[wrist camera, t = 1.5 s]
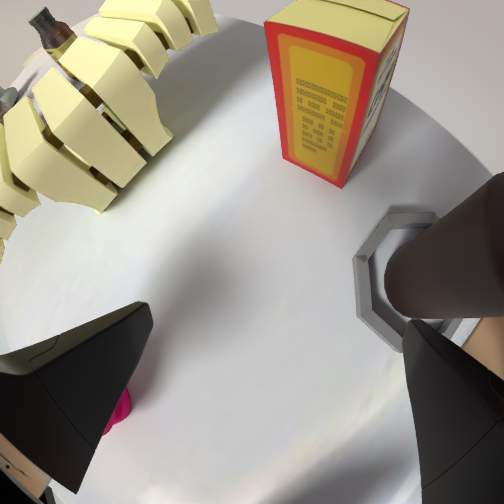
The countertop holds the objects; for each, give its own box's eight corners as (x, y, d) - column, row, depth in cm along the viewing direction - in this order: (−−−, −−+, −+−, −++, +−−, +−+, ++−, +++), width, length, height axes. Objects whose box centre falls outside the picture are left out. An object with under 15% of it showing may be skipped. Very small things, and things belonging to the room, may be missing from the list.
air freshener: (23, 89, 46) (5, 72, 37) (18, 103, 44) (-2, 85, 34) (2, 112, 47) (-16, 98, 37) (-3, 127, 44) (-23, 112, 35)
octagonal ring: (467, 335, 19) (475, 335, 18) (357, 356, 21) (361, 359, 20) (453, 216, 22) (460, 211, 21) (347, 221, 24) (350, 215, 22)
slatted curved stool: (66, 279, 27) (-58, 245, 10) (34, 205, 31) (-49, 160, 14) (239, 98, 29) (198, -31, 12) (169, 64, 33) (122, -22, 16)
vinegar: (453, 295, 20) (628, 246, 1) (401, 332, 21) (602, 347, 1) (424, 233, 22) (570, 105, 3) (369, 265, 23) (534, 127, 3)
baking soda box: (341, 188, 24) (379, 50, 9) (282, 158, 26) (262, 17, 11) (376, 125, 25) (410, 5, 10) (324, 101, 27) (328, -21, 12)
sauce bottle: (74, 74, 39) (27, 20, 20) (97, 57, 39) (53, -1, 20) (72, 87, 37) (19, 29, 18) (97, 69, 37) (47, 5, 18)
